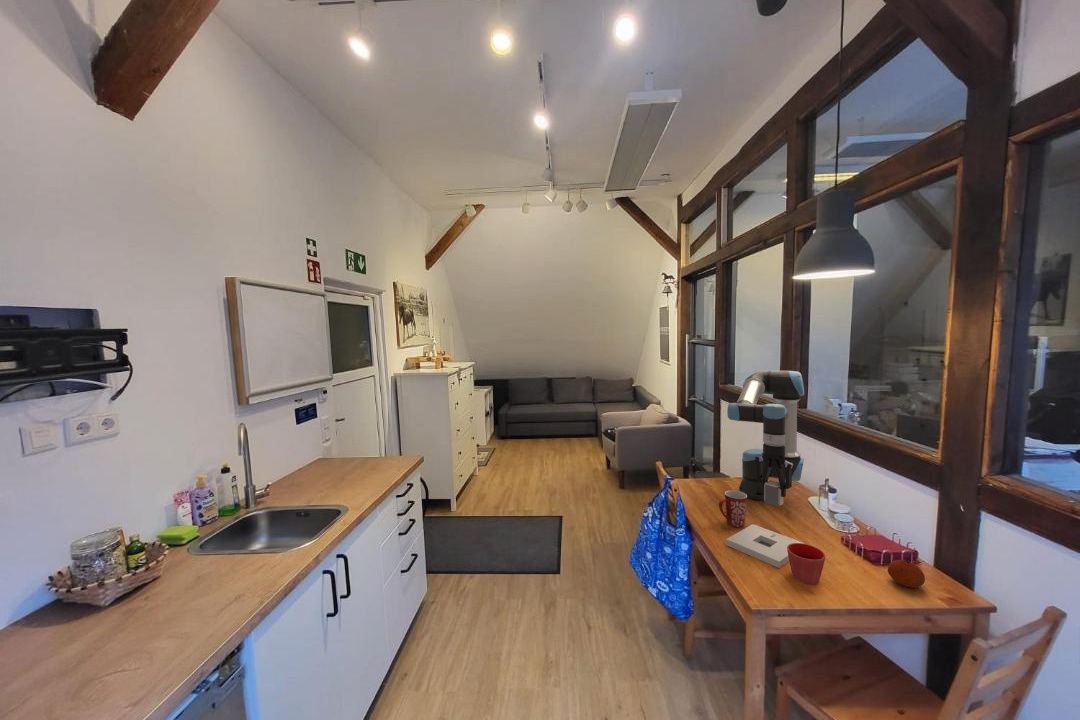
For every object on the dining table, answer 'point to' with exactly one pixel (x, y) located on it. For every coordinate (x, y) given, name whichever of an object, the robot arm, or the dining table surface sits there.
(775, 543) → the socket plate
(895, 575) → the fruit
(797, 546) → the flower pot
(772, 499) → the plug
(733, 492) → the mug
